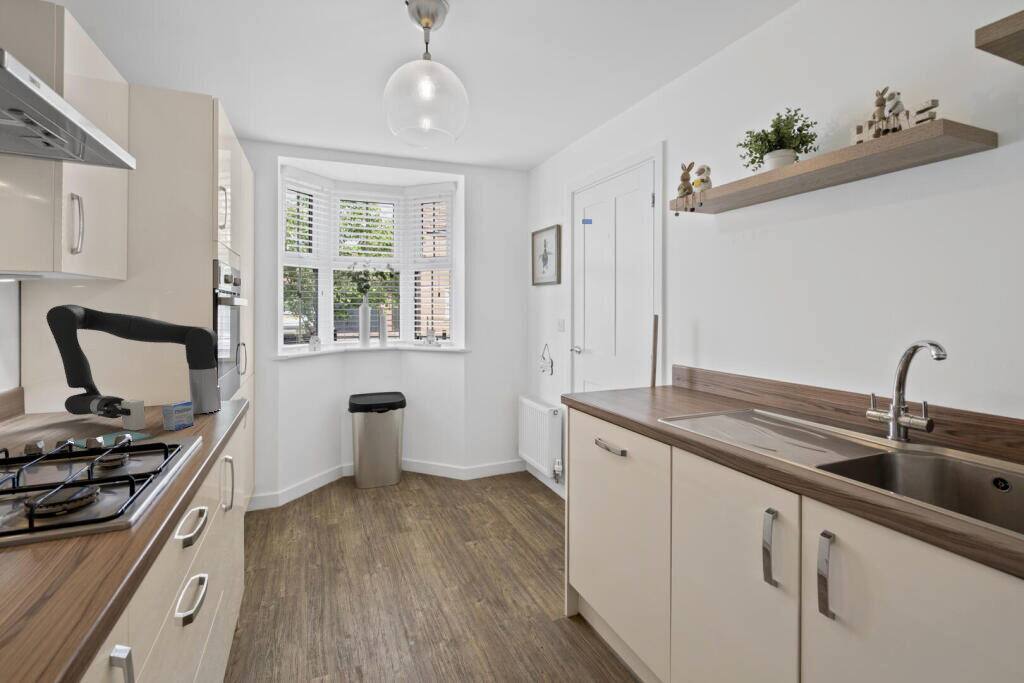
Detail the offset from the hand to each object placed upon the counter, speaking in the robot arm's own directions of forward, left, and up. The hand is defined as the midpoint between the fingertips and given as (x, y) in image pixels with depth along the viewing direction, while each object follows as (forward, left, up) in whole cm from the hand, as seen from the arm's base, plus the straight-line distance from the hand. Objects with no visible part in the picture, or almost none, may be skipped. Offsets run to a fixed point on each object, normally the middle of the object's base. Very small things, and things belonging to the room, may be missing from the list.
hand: (136, 411), depth 164 cm
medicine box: (-7, +11, -6) cm, 15 cm away
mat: (+12, +9, -6) cm, 16 cm away
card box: (0, -2, -6) cm, 6 cm away
